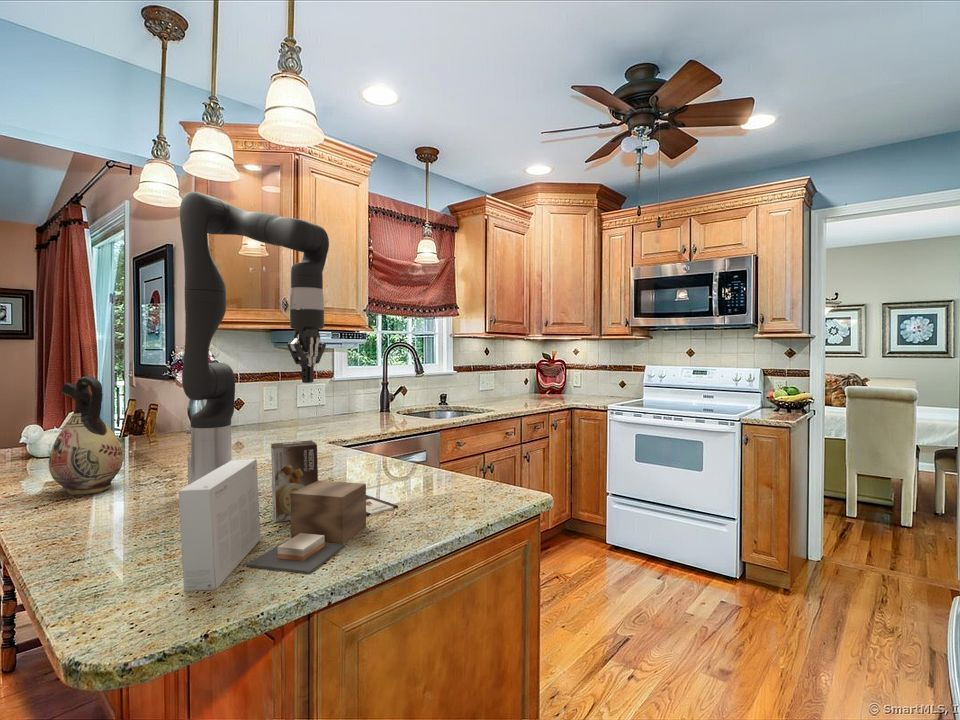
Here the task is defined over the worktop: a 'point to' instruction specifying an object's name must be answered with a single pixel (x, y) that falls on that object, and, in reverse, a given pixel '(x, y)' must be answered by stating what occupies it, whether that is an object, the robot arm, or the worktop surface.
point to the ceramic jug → (85, 444)
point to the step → (329, 510)
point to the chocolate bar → (377, 505)
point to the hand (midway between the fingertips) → (307, 382)
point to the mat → (306, 566)
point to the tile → (301, 546)
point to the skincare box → (218, 523)
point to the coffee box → (291, 473)
